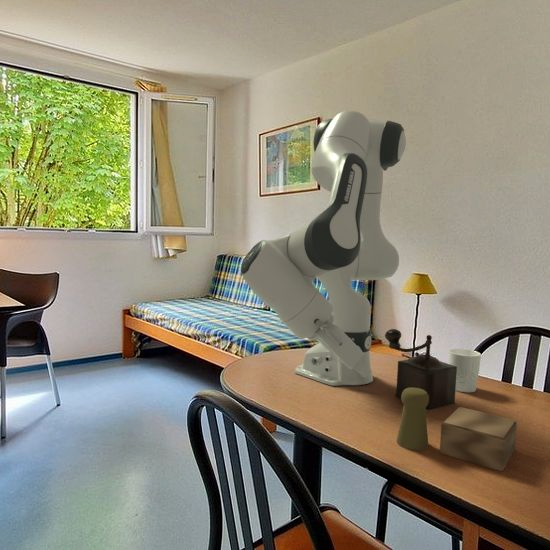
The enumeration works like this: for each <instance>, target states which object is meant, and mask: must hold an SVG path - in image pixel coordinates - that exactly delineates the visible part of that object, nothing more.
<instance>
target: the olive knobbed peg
mask: <svg viewBox="0 0 550 550" xmlns="http://www.w3.org/2000/svg"><path fill="white" fill-rule="evenodd" d="M400 400H401V402H402V404H403V407H402V412H401V417H400V423H399V429H398V434H397V439H396V443H397V445H398V446H400V447H401V448H403V449H406V450H410V451H418V452H419V451H424V450H427V449H428V448H429V436H428V435H429V434H428V426H427V425H428V424H427V423H428V422H427V410H426V407H427V405H428V403H429V395H428V394H427V392H426V391H424V390H423V389H420V388H406V389H404V391H403V392H402V395H401V399H400Z"/></svg>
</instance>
